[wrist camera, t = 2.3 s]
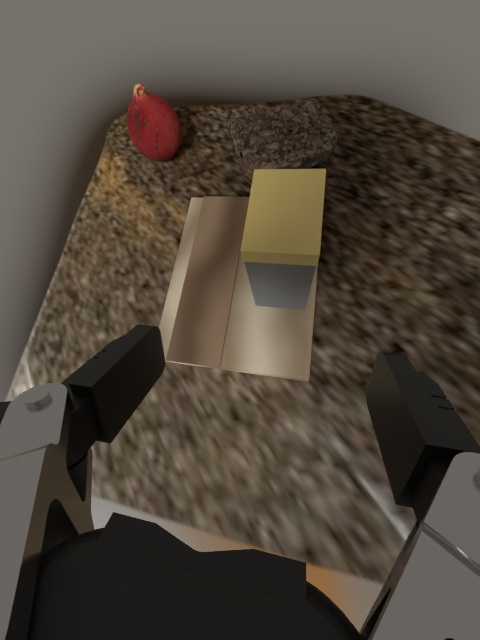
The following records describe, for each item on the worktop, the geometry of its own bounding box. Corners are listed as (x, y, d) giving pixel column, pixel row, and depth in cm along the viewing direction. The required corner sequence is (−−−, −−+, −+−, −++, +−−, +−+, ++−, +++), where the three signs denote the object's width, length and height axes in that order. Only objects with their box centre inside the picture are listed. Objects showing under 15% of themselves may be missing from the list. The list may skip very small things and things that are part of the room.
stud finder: (310, 250, 25) (326, 168, 16) (305, 310, 23) (319, 255, 14) (263, 248, 26) (254, 169, 17) (255, 306, 24) (240, 250, 15)
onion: (175, 182, 32) (142, 112, 24) (138, 170, 33) (96, 101, 26) (199, 147, 33) (174, 70, 25) (162, 137, 34) (129, 62, 27)
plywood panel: (321, 207, 27) (323, 197, 26) (307, 381, 22) (309, 380, 21) (195, 205, 30) (191, 196, 29) (157, 360, 25) (150, 358, 24)
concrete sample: (241, 205, 29) (234, 166, 24) (230, 141, 33) (221, 96, 28) (345, 181, 28) (359, 136, 23) (322, 117, 31) (330, 66, 27)
